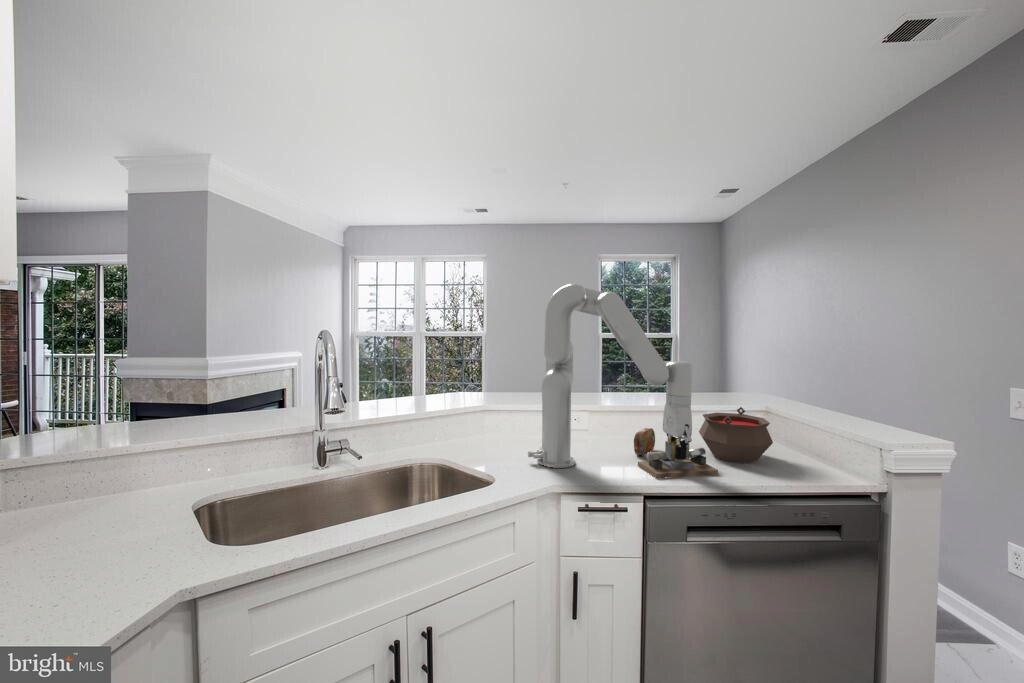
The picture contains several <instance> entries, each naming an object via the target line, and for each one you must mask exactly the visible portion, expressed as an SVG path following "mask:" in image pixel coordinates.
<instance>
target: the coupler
mask: <svg viewBox="0 0 1024 683" xmlns="http://www.w3.org/2000/svg"><path fill="white" fill-rule="evenodd" d="M676 447H678V443H677V441H668V440H666V441H665V447H664V448H665V451H664V452H666V454H667V458H668V459H670V460H672V461H673V460H677V459H676ZM689 450H690V443H689V444H688V447H687V448H686V459H682V460H689V459H690V458H689Z"/></svg>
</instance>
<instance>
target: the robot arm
mask: <svg viewBox="0 0 1024 683" xmlns="http://www.w3.org/2000/svg"><path fill="white" fill-rule="evenodd" d="M574 311H575V312H579V313H584V314H588V315H592V316H598V317H600V318H601V319H602V320H603V322H604V323H605V325H606V326H607V328H608V329H609V331H610V332H611V334H612V335H613V337H614V338H615V340H616V341H617V343H618V345H619V346H620V347H621V348H622V349H623V350H624V351H625V352H626V353H627V354H628V355H629V357H630V358H631V360H632V361H633V362H634V364H635V365H636V367H637V368H638V371H640V374H641V375H642V377H643V379H644V381H646V382H647V383H648V384H649V385H651V386H655V387H659V386H662V385H664V384H665V386H666V387H665V388H666V389H665V405H664V409H663V417H662V431H663V432H664V433H665V434H666V436H667V441H677V443H678V447H676V459H677V460H682V459H686V448H687V447H688V444H689V445H690V443H692V440H693V439H692V432H693V418H692V417H693V416H692V415H693V414H692V408H691V406H692V387H693V386H692V382H693V380H692V379H693V365H692V363H691V362H689V361H684V360H672V361H671V360H670V361H667V360H663V358H662V356H661V355H660V353H659V352H658V351H657V349H656V348H655V347H654V345H653V344H652V342H651V341H650V340H649V338H648V336H647V335H646V333H645V331H644V330H643V328H642V327H641V326H640V325H639V323H638V322H637V320H636V318H635V317H634V316H633V314H632V312H631V311H630V309H629V308H628V306H627V305H626V304H625V302H624V300H623V299H622V298H621V297H620V295H619V294H618V293H616V292H613V291H606V292H605V291H601V290H595V289H592V288H587V287H584V286H583V285H581V284H579V283H577V282H576V283H574V282H573V283H568V284H566V285H564V286H562V287H560V288H558V289H557V290H556V291H554V292H553V294H552V295H551V297H550V298H549V300H548V303H547V304H546V309H545V316H544V317H545V318H544V319H545V320H544V344H543V354H544V357H545V373H544V375H543V378H542V381H541V399H542V402H541V404H542V405H541V406H542V410H541V411H542V412H541V413H542V414H541V416H542V417H541V418H542V419H541V430H542V431H541V447H539V449H537V450H536V451H533V450H531V451H527V457H528V458H532V459H534V460H535V459H536V460H537V461H536V462H537V463H538V465H540V464H541V465H540V466H542V465H544V466H543V467H545V466H547V467H546V468H550V467H553V468H552V469H566V468H571V467H572V466H574V465H575V464H576V459H575V458H574V457H572V456H571V446H572V445H571V441H572V440H571V437H572V436H571V434H572V433H571V431H572V429H571V428H572V427H571V426H572V425H571V424H572V385H573V381H574V377H573V376H574V374H573V373H574V369H573V368H574V347H573V343H572V341H571V340H572V339H571V329H572V326H571V325H572V314H573V312H574Z"/></svg>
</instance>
